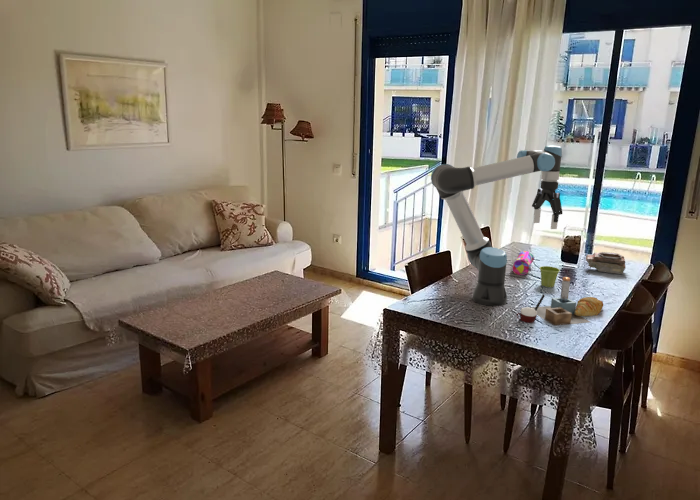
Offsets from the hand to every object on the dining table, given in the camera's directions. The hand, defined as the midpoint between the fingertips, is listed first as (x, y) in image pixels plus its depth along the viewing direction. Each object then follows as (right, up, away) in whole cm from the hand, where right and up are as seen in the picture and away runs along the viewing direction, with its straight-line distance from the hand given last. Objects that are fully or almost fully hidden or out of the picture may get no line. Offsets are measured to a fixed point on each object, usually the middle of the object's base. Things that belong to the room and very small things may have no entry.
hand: (544, 225), depth 248 cm
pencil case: (+3, -23, +40) cm, 46 cm away
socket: (0, -38, -21) cm, 43 cm away
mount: (-6, -41, -30) cm, 51 cm away
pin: (0, -38, -21) cm, 43 cm away
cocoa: (-18, -41, -31) cm, 55 cm away
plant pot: (+7, -29, +15) cm, 34 cm away
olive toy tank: (+46, -23, +39) cm, 65 cm away
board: (-4, -39, -24) cm, 46 cm away
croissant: (+11, -38, -19) cm, 44 cm away
